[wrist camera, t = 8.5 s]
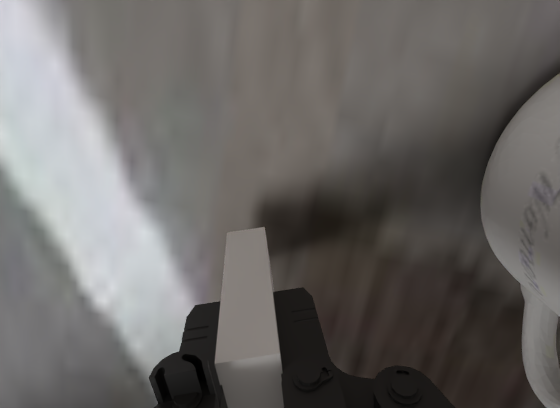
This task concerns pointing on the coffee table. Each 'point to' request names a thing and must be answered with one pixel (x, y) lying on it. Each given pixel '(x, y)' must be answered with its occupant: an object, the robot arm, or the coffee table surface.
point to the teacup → (530, 227)
